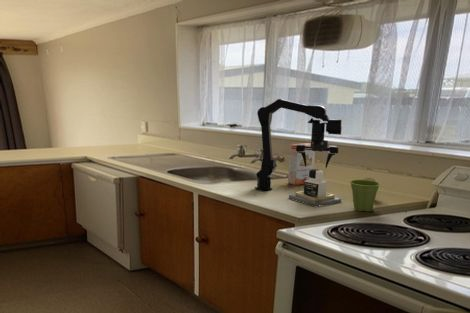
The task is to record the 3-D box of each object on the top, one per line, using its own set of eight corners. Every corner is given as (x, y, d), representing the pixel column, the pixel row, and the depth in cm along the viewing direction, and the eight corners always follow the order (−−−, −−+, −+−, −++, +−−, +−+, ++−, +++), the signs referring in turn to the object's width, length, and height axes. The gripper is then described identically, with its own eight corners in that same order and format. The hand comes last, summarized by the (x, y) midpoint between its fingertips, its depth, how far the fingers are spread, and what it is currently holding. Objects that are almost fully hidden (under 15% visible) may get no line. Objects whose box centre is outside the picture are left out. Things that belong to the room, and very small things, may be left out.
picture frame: (288, 198, 173) (289, 191, 173) (314, 194, 182) (314, 187, 182) (315, 207, 160) (315, 199, 160) (341, 202, 169) (341, 195, 169)
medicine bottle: (303, 196, 171) (304, 169, 169) (312, 194, 176) (313, 167, 174) (317, 199, 166) (319, 172, 164) (326, 197, 171) (327, 170, 169)
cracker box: (296, 185, 199) (298, 145, 196) (287, 183, 204) (289, 143, 201) (313, 182, 208) (316, 143, 205) (305, 180, 213) (307, 142, 210)
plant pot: (353, 203, 167) (355, 178, 165) (381, 209, 160) (383, 182, 159) (343, 209, 157) (345, 182, 156) (373, 215, 151) (375, 187, 149)
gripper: (296, 133, 171) (294, 168, 173) (340, 136, 168) (337, 171, 170) (297, 132, 182) (295, 164, 184) (338, 133, 179) (336, 167, 181)
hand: (315, 167), depth 180 cm, fingers open, 9 cm apart
